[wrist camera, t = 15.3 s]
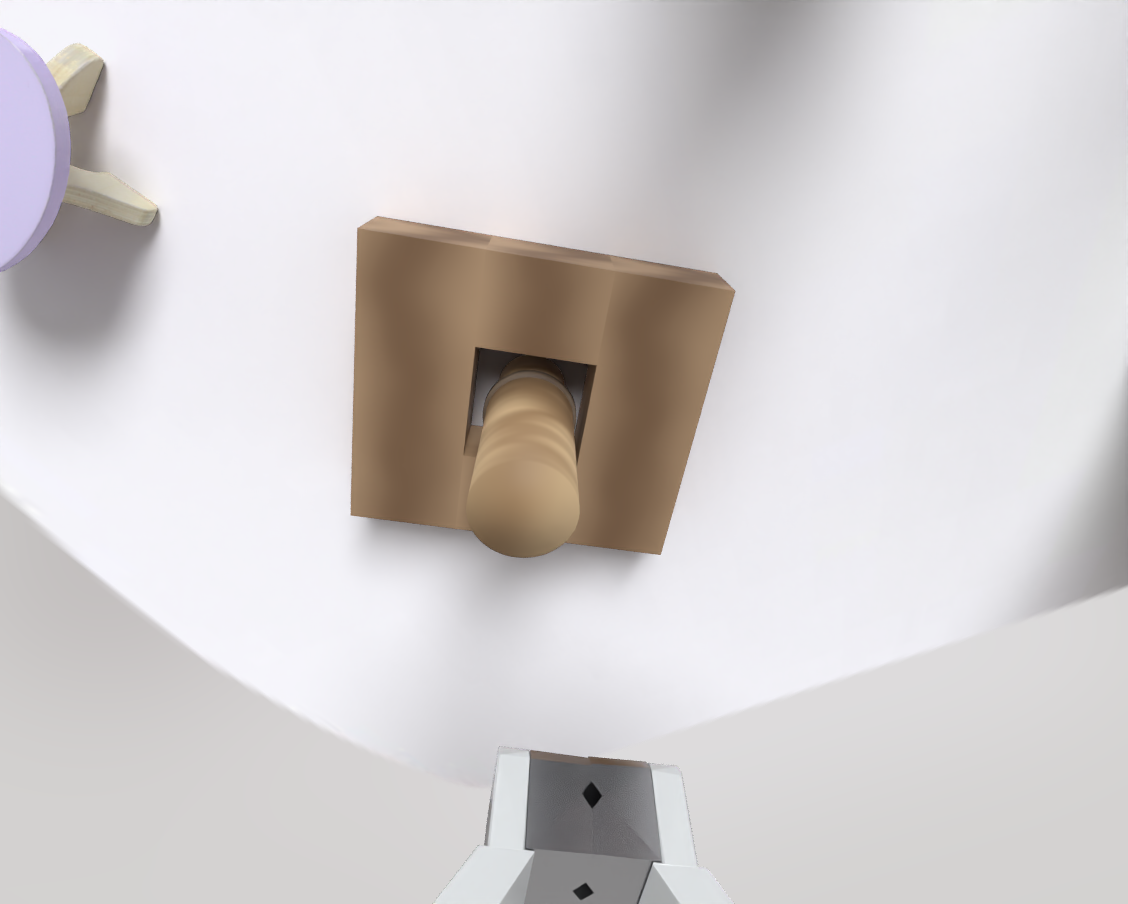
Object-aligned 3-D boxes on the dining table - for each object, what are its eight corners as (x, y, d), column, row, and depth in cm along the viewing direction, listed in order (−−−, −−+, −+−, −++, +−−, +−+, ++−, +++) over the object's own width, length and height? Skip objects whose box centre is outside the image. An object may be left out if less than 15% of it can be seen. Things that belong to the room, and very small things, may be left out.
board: (717, 273, 32) (735, 291, 28) (651, 518, 38) (660, 554, 35) (377, 216, 30) (357, 228, 27) (367, 480, 36) (350, 515, 33)
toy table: (85, 301, 32) (-3, 337, 27) (-103, 142, 29) (-246, 149, 23) (211, 157, 29) (139, 168, 24) (18, -36, 26) (-113, -72, 21)
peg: (580, 352, 33) (594, 466, 23) (566, 429, 35) (572, 567, 25) (495, 339, 33) (468, 449, 22) (485, 417, 35) (456, 553, 24)
